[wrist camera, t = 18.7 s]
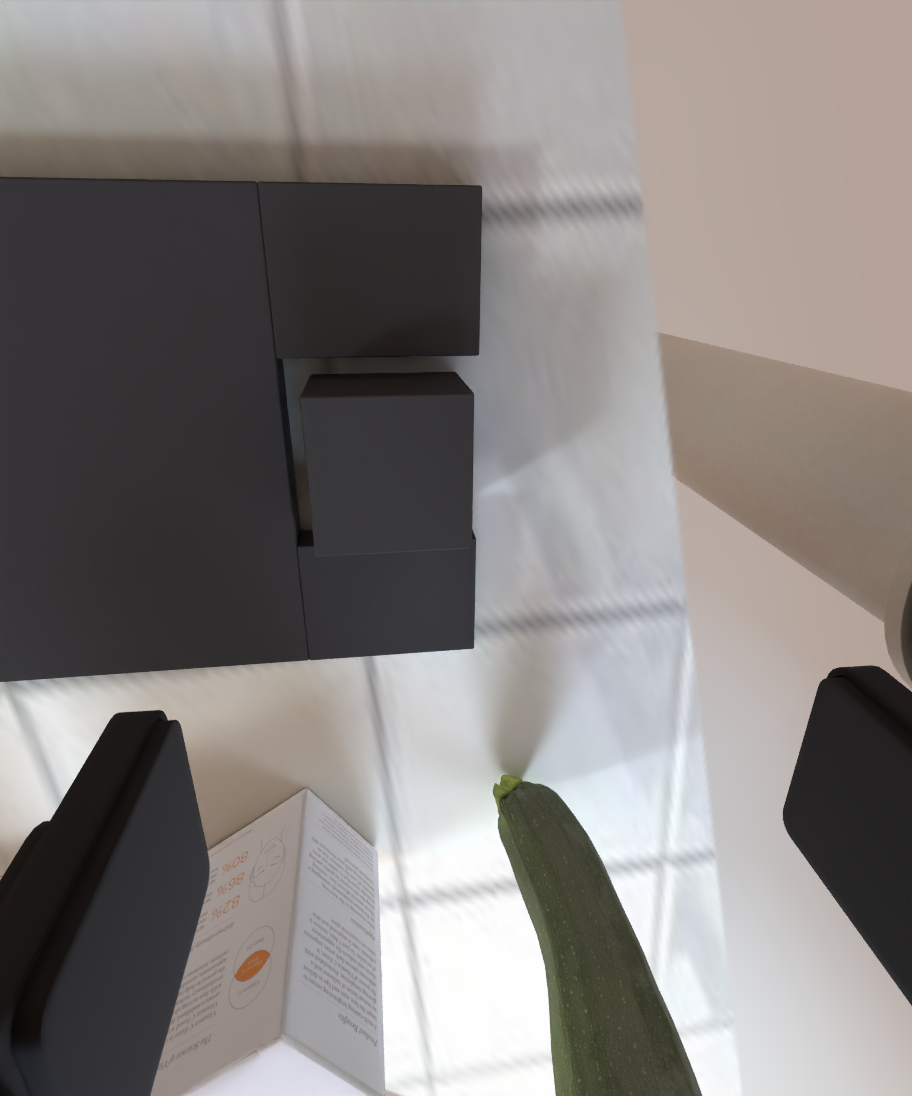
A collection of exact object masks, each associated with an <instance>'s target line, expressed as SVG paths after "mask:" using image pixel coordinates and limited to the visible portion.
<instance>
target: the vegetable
mask: <svg viewBox="0 0 912 1096" xmlns="http://www.w3.org/2000/svg"><path fill="white" fill-rule="evenodd" d="M493 795H494V797H495V800H496V803H497V807H498V813H499V815H500V816H499V818H498V829H499V834H500V838H501V841H502V843H503V845H504V847H505V850H506V852H507V855H508V858H509V860H510V863H511V866H512V869H513V872H514V875H515V878H516V880H517V883H518V886H519V889H520V891H521V894H522V897H523V900H524V902H525V905H526V908H527V910H528V913H529V915H530V918H531V920H532V923H533V926H534V928H535V931H536V933H537V936H538V940H539V944H540V948H541V952H542V956H543V960H544V964H545V969H546V978H547V986H548V997H549V1012H550V1034H551V1052H552V1062H553V1072H554V1082H555V1092H556V1096H702V1094H701V1091H700V1088H699V1085H698V1083H697V1080H696V1077H695V1074H694V1072H693V1069H692V1067H691V1064H690V1062H689V1059H688V1057H687V1054H686V1052H685V1049H684V1047H683V1044H682V1042H681V1039H680V1037H679V1034H678V1032H677V1029H676V1027H675V1024H674V1022H673V1020H672V1017H671V1015H670V1013H669V1011H668V1009H667V1006H666V1004H665V1002H664V1000H663V997H662V995H661V993H660V991H659V989H658V987H657V985H656V982H655V980H654V977H653V975H652V972H651V970H650V967H649V965H648V962H647V960H646V957H645V955H644V952H643V950H642V948H641V946H640V943H639V941H638V939H637V937H636V935H635V932H634V930H633V928H632V926H631V924H630V922H629V920H628V918H627V916H626V914H625V911H624V909H623V907H622V905H621V903H620V900H619V898H618V896H617V894H616V891H615V889H614V887H613V885H612V883H611V880H610V878H609V876H608V873H607V871H606V869H605V866H604V864H603V862H602V860H601V858H600V857H599V855H598V853H597V851H596V849H595V847H594V845H593V843H592V842H591V840H590V838H589V836H588V835H587V833H586V831H585V830H584V829H583V827H582V826H581V824H580V823H579V822H578V820H577V819H576V817H575V816H574V814H573V813H572V812H571V810H570V809H569V808H568V806H567V805H566V804H565V803H564V801H563V800H562V799H561V798H560V797H559V795H558V794H557V793H556V792H554V791H553V790H551V789H550V788H548V787H546V786H544V785H541V784H533V783H530V782H525V781H524V782H523V781H522V780H521V779H518V778H516V777H514V776H510V775H503V776H502V777H501V782H500V784H499V786H498V785H497V784H496V783H495V785H494V788H493Z"/></svg>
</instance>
